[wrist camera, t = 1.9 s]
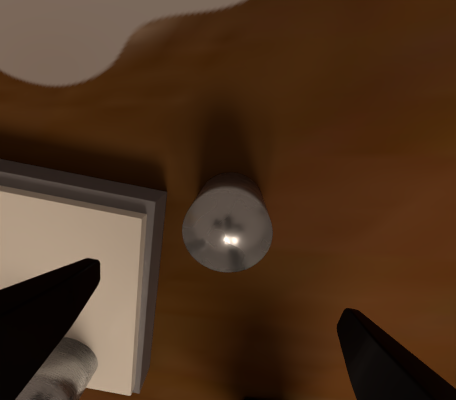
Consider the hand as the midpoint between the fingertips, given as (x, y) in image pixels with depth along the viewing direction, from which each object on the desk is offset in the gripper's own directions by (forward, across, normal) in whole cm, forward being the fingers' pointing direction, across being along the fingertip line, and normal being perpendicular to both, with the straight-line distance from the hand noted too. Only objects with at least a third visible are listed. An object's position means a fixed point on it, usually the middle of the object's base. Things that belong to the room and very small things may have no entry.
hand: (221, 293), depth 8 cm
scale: (+9, +13, +10) cm, 19 cm away
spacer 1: (+6, +11, +15) cm, 20 cm away
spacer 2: (+9, 0, 0) cm, 9 cm away
